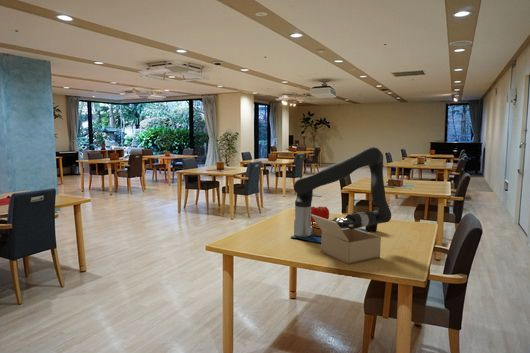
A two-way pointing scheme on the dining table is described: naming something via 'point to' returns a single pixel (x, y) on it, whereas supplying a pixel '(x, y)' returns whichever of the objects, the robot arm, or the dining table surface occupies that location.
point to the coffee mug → (371, 228)
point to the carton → (351, 246)
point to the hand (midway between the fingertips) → (329, 225)
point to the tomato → (320, 212)
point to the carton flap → (329, 227)
